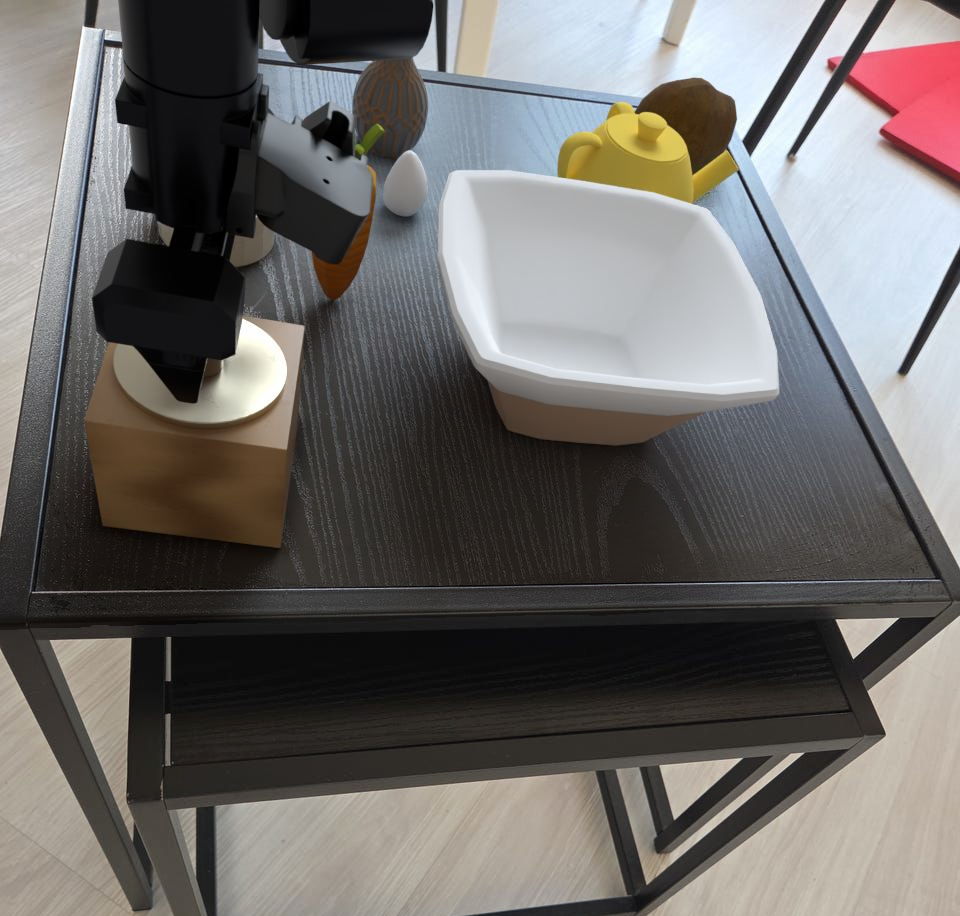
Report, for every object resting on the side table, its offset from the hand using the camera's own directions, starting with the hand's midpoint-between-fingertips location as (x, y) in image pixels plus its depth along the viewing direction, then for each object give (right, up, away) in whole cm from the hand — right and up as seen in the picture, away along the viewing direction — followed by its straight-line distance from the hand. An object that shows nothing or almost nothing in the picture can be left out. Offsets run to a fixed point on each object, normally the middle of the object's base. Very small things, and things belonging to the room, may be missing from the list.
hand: (200, 345), depth 54 cm
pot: (-5, +16, +23) cm, 29 cm away
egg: (+9, +21, +30) cm, 38 cm away
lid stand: (-2, -6, +9) cm, 11 cm away
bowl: (+23, +3, +22) cm, 32 cm away
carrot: (+4, +10, +21) cm, 24 cm away
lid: (0, -1, +1) cm, 2 cm away
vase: (+7, +30, +35) cm, 47 cm away
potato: (+36, +32, +45) cm, 66 cm away
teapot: (+30, +21, +35) cm, 51 cm away
